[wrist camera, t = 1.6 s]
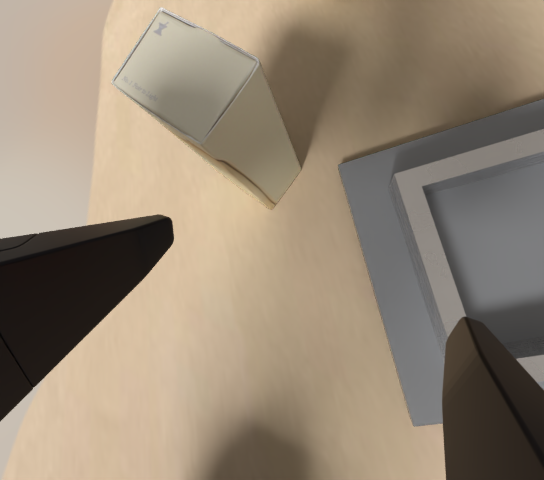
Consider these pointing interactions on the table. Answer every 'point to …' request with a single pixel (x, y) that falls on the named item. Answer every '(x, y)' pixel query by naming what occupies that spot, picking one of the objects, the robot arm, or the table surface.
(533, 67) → the table surface
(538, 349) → the port collar
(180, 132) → the skincare box
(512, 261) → the port base
